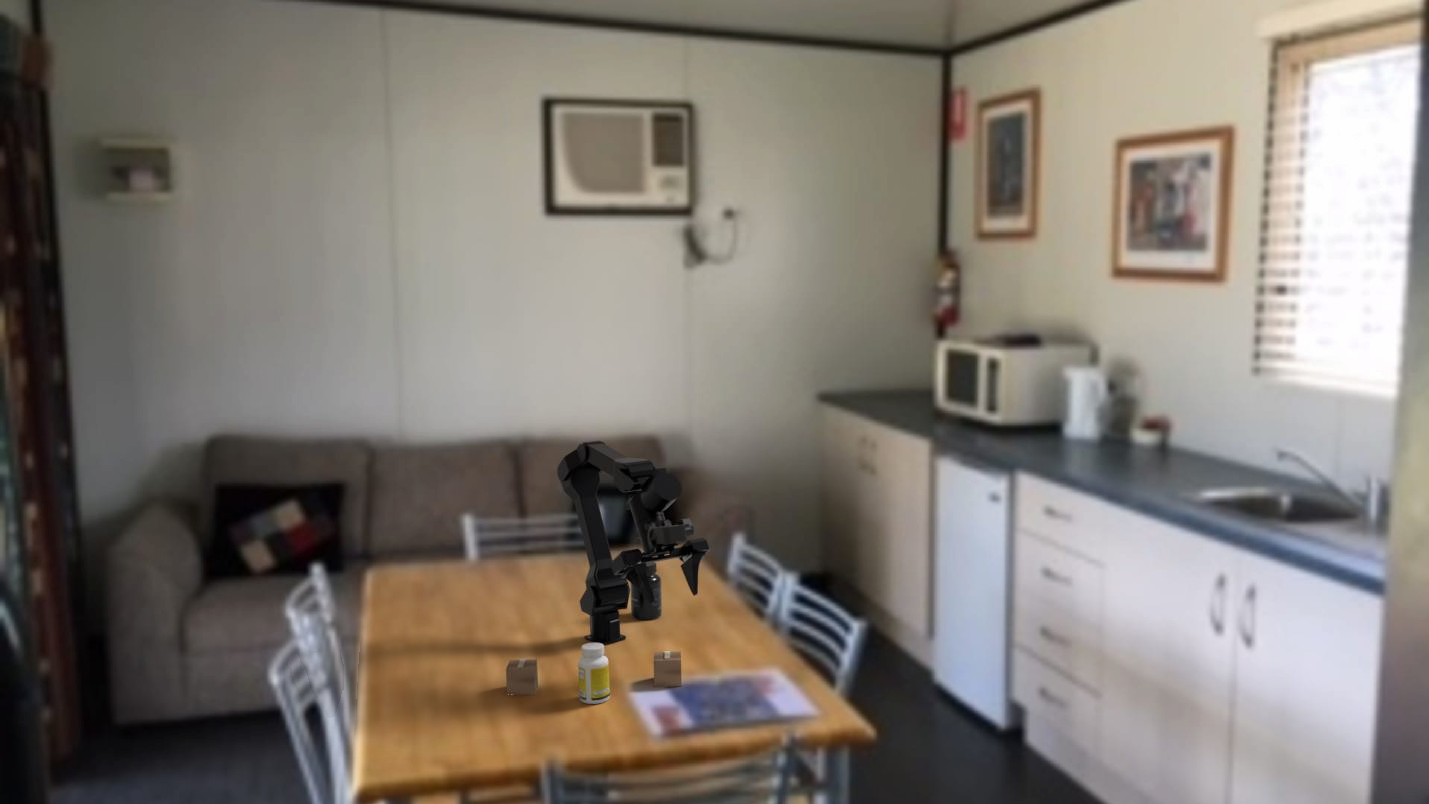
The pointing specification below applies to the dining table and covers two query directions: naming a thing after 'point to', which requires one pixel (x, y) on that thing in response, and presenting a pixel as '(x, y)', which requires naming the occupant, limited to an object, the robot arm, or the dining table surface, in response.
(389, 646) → the dining table surface
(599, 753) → the dining table surface
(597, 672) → the supplement bottle
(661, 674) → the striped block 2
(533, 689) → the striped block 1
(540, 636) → the dining table surface
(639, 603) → the supplement bottle
